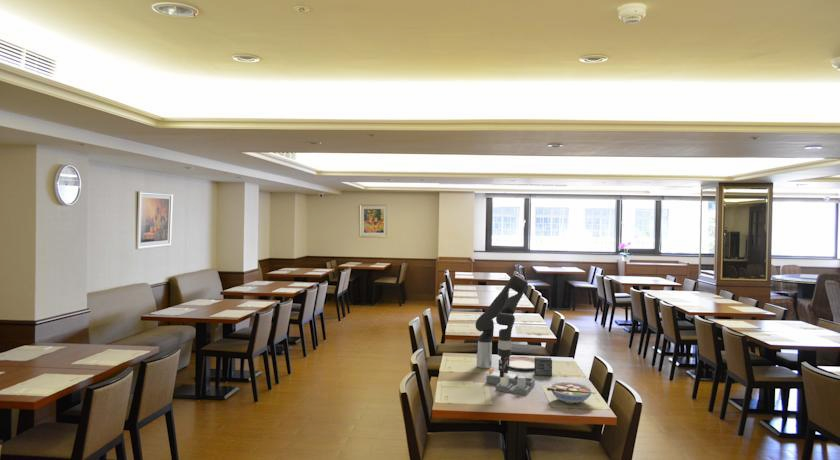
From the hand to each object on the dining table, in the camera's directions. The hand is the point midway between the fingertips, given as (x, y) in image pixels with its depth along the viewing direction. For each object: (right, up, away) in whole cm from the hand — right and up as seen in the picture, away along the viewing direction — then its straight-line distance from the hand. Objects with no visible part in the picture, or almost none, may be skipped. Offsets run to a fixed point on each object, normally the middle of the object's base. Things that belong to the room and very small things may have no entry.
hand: (503, 375), depth 312 cm
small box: (+30, -8, +32) cm, 44 cm away
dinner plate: (+20, -8, +51) cm, 56 cm away
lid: (+1, -4, +13) cm, 13 cm away
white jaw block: (0, -7, 0) cm, 7 cm away
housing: (+3, -8, +5) cm, 10 cm away
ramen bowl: (+33, -9, -19) cm, 40 cm away
